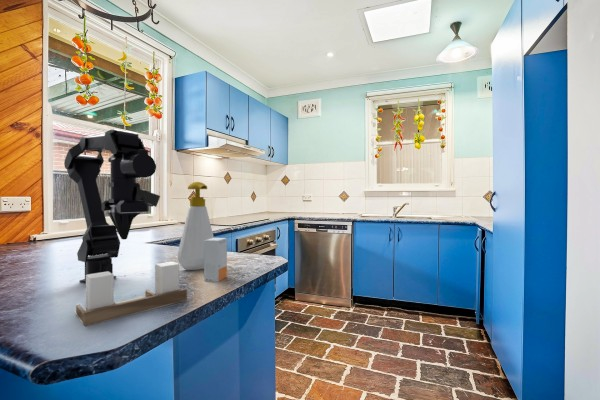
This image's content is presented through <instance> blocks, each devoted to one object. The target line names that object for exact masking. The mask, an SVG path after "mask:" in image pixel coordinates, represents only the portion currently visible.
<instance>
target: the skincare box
mask: <svg viewBox="0 0 600 400" xmlns="http://www.w3.org/2000/svg"><path fill="white" fill-rule="evenodd" d="M227 277H228V238H227V237H214V238H211V239H208V240H205V241H204V269H203V281H204V282H213V283H214V282H216V283H217V282H220V281H221V280H223V279H224V278H227Z"/></svg>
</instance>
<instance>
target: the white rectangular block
mask: <svg viewBox="0 0 600 400" xmlns="http://www.w3.org/2000/svg"><path fill="white" fill-rule="evenodd" d="M154 268H155V269H154V270H155V272H154V277H155V278H154V281H155V283H154V285H155V286H154V287H155V288H154V294H156V295H158V294H162V293H167V292H171V291H175V290H180V263H179V262H174V261H167V262H161V263H160V262H159V263H155V264H154Z"/></svg>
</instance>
